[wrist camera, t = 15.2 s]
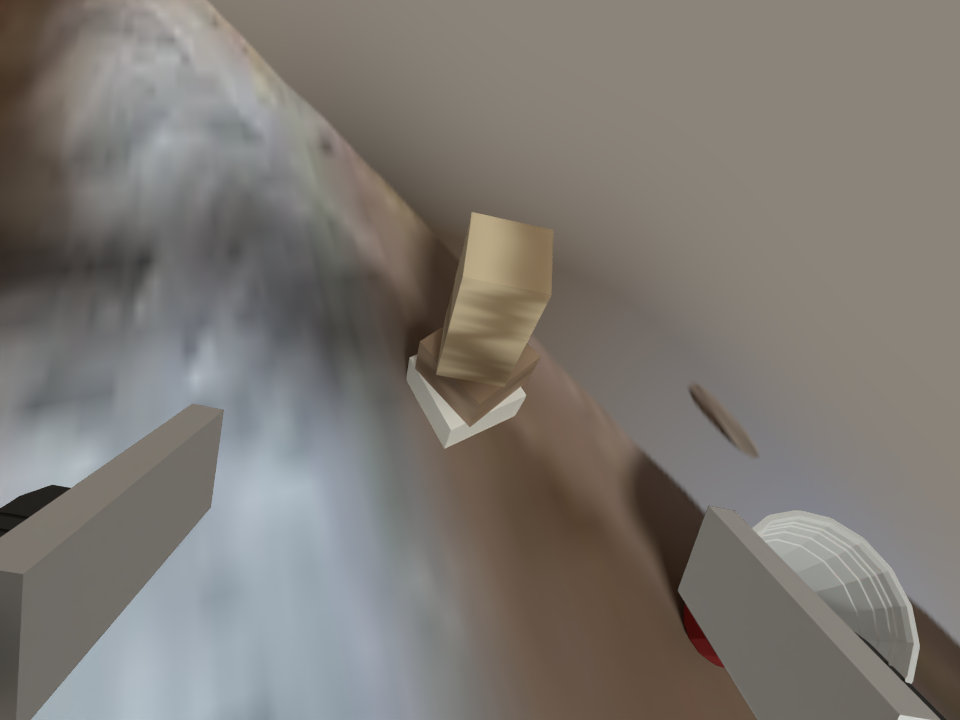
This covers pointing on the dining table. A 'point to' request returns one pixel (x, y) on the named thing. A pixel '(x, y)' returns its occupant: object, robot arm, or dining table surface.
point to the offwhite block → (446, 418)
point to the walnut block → (469, 395)
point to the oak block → (495, 299)
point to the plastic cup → (838, 585)
